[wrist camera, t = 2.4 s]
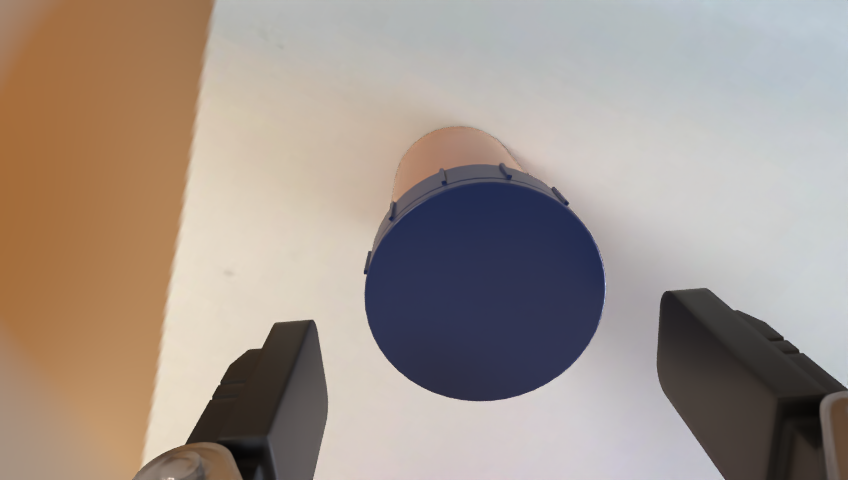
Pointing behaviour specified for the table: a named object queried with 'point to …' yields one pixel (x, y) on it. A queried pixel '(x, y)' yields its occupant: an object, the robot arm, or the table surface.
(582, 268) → the lid
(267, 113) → the table surface
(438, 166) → the jar
